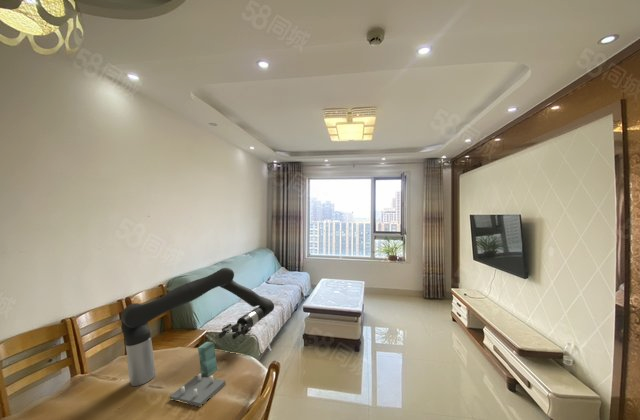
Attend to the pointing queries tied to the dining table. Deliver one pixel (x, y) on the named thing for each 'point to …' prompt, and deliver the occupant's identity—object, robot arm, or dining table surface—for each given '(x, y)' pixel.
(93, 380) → the dining table surface
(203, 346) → the teal post
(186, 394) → the peg plate
